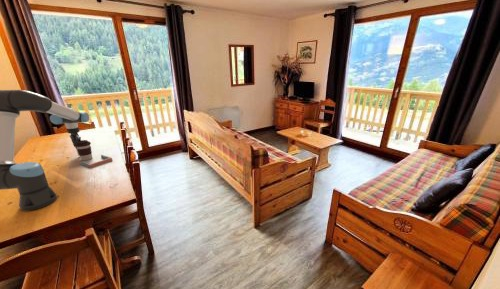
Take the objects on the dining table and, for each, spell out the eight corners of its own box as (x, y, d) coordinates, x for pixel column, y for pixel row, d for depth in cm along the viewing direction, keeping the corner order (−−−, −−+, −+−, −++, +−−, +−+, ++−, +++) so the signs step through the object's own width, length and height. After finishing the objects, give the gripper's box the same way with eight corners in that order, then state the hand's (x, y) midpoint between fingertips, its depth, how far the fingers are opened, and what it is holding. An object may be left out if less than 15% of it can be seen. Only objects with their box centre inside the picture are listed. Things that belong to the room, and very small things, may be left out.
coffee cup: (86, 161, 164) (81, 143, 159) (75, 160, 166) (70, 142, 161) (97, 157, 173) (92, 139, 168) (87, 156, 175) (82, 139, 170)
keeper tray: (90, 167, 153) (89, 164, 152) (80, 164, 159) (79, 161, 159) (112, 160, 165) (111, 157, 165) (102, 157, 172) (101, 154, 171)
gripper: (82, 127, 166) (89, 155, 174) (74, 125, 172) (81, 152, 180) (70, 129, 160) (78, 158, 168) (63, 127, 166) (71, 155, 174)
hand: (80, 155), depth 174 cm, fingers closed
